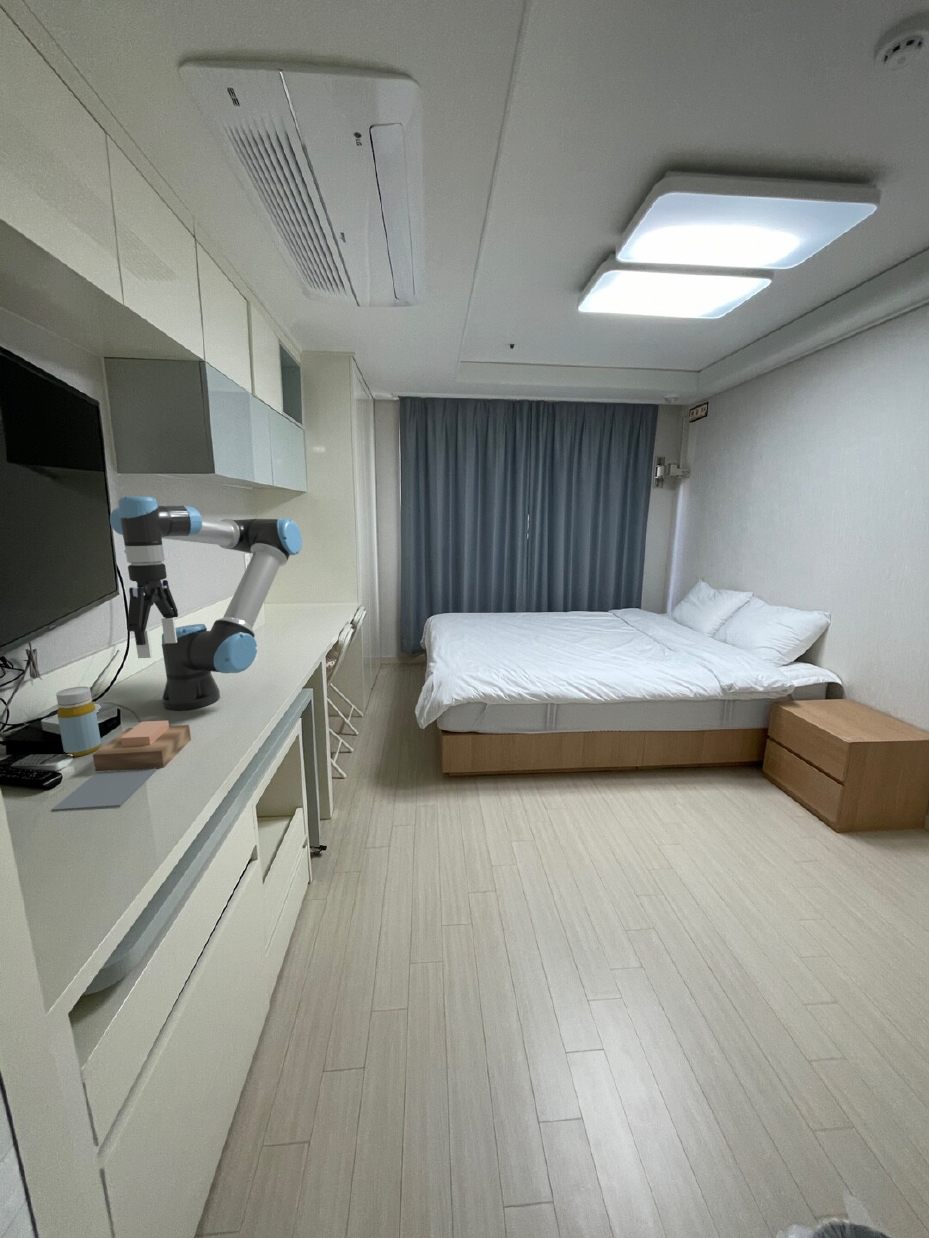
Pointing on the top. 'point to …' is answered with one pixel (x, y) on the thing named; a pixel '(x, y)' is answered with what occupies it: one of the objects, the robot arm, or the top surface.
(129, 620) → the robot arm
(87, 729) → the bottle
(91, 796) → the mat
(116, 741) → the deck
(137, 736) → the tile
